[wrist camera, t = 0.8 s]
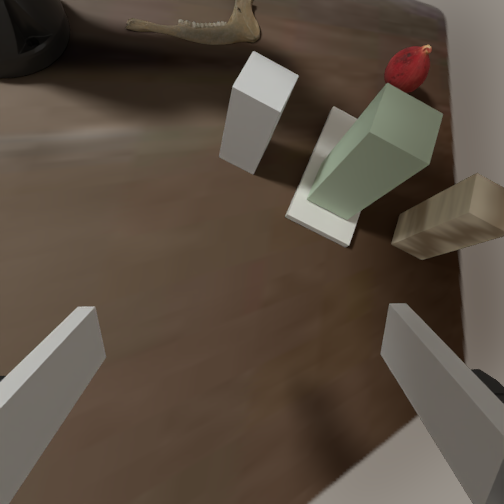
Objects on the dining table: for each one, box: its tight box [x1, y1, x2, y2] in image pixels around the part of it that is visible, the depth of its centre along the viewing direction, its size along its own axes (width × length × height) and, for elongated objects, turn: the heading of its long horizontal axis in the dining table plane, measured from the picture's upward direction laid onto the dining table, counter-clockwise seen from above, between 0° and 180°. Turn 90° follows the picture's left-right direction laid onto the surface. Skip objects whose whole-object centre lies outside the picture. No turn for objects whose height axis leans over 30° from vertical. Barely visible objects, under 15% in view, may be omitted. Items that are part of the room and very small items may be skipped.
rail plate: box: [285, 106, 361, 247], centre depth 42 cm, size 19×9×1 cm, turn 157°
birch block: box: [391, 173, 504, 260], centre depth 37 cm, size 5×5×12 cm
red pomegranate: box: [384, 45, 432, 93], centre depth 45 cm, size 6×6×8 cm
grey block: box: [219, 51, 299, 174], centre depth 34 cm, size 5×5×12 cm
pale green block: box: [307, 83, 443, 220], centre depth 33 cm, size 6×6×14 cm
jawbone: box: [126, 0, 260, 45], centre depth 43 cm, size 9×20×2 cm, turn 124°
